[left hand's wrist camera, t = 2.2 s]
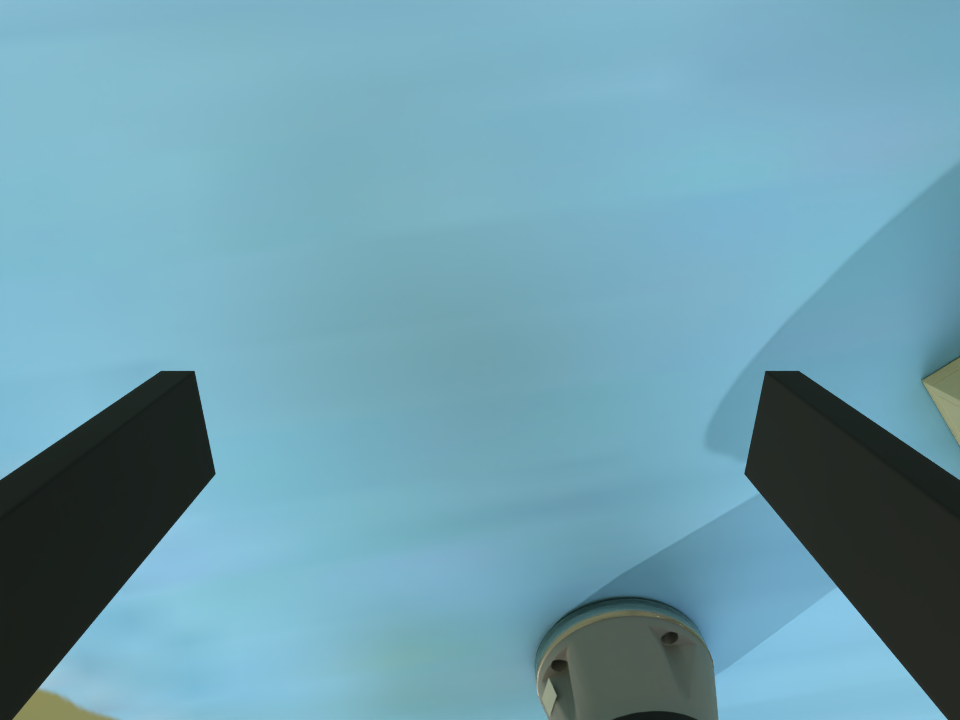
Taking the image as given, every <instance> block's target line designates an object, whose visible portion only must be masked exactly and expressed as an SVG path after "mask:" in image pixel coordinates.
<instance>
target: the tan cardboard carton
mask: <svg viewBox="0 0 960 720" xmlns="http://www.w3.org/2000/svg"><path fill="white" fill-rule="evenodd" d="M922 382H923V384H924V385H925V387H926V389H927V391H928V392H929V394H930V396H931V397H932V399H933V401H934V403H935V404H936V406H937V408H938V409H939V411H940V413H941V415H942V416H943V418H944V420H945V422H946V423H947V425H948V427H949V428H950V430H951V432H952V434H953V435H954V437H955V439H956V440H957V442H958V444H959V446H960V357H959V358H958V359H956V360H954V361H953V362H951V363H950V364H948V365H946V366H945V367H943V368H941V369H940V370H938V371H937V372H935V373H933V374H932V375H930V376H928V377H927V378H925V379H923V380H922Z"/></svg>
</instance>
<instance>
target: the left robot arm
mask: <svg viewBox="0 0 960 720" xmlns="http://www.w3.org/2000/svg"><path fill="white" fill-rule="evenodd" d="M214 475H215V469H214V464H213V459H212V454H211V449H210V444H209V439H208V435H207V430H206V425H205V420H204V415H203V410H202V405H201V400H200V396H199V391H198V386H197V381H196V376H195V371H160V372H159V373H158V374H156V375H155V376H153V377H152V378H150V379H149V380H147V381H146V382H144V383H143V384H141V385H140V386H138V387H137V388H135V389H134V390H132V391H131V392H130V393H128V394H127V395H125V396H124V397H122V398H121V399H119V400H118V401H116V402H115V403H113V404H112V405H110V406H109V407H107V408H106V409H104V410H103V411H102V412H100V413H99V414H97V415H96V416H94V417H93V418H91V419H90V420H88V421H87V422H85V423H84V424H82V425H81V426H79V427H78V428H76V429H75V430H74V431H72V432H71V433H69V434H68V435H66V436H65V437H63V438H62V439H60V440H59V441H57V442H56V443H54V444H53V445H51V446H50V447H48V448H47V449H46V450H44V451H43V452H41V453H40V454H38V455H37V456H35V457H34V458H32V459H31V460H29V461H28V462H26V463H25V464H23V465H22V466H21V467H19V468H18V469H16V470H15V471H13V472H12V473H10V474H9V475H7V476H6V477H4V478H3V479H1V480H0V720H12V719H13V718H14V717H15V716H16V714H17V713H18V712H19V711H20V710H21V708H22V707H23V706H24V705H25V703H26V702H27V701H28V700H29V699H30V698H31V696H32V695H33V694H34V693H35V691H36V690H37V689H38V688H39V687H40V685H41V684H42V683H43V682H44V681H45V679H46V678H47V677H48V676H49V675H50V673H51V672H52V671H53V670H54V669H55V667H56V666H57V665H58V664H59V662H60V661H61V660H62V659H63V658H64V656H65V655H66V654H67V653H68V652H69V650H70V649H71V648H72V647H73V646H74V644H75V643H76V642H77V641H78V640H79V638H80V637H81V636H82V635H83V634H84V632H85V631H86V630H87V629H88V627H89V626H90V625H91V624H92V623H93V621H94V620H95V619H96V618H97V617H98V615H99V614H100V613H101V612H102V611H103V609H104V608H105V607H106V606H107V605H108V603H109V602H110V601H111V600H112V598H113V597H114V596H115V595H116V594H117V592H118V591H119V590H120V589H121V588H122V586H123V585H124V584H125V583H126V582H127V580H128V579H129V578H130V577H131V576H132V574H133V573H134V572H135V571H136V569H137V568H138V567H139V566H140V565H141V563H142V562H143V561H144V560H145V559H146V557H147V556H148V555H149V554H150V553H151V551H152V550H153V549H154V548H155V547H156V545H157V544H158V543H159V542H160V541H161V539H162V538H163V537H164V536H165V534H166V533H167V532H168V531H169V530H170V528H171V527H172V526H173V525H174V524H175V522H176V521H177V520H178V519H179V518H180V516H181V515H182V514H183V513H184V512H185V510H186V509H187V508H188V507H189V505H190V504H191V503H192V502H193V501H194V499H195V498H196V497H197V496H198V495H199V493H200V492H201V491H202V490H203V489H204V487H205V486H206V485H207V484H208V483H209V481H210V480H211V479H212V478H213V476H214ZM745 475H746V476H747V478H748V479H749V480H750V481H751V483H752V484H753V485H754V486H755V487H756V489H757V490H758V491H759V492H760V493H761V495H762V496H763V497H764V498H765V499H766V501H767V502H768V503H769V504H770V505H771V507H772V508H773V509H774V510H775V512H776V513H777V514H778V515H779V516H780V518H781V519H782V520H783V521H784V522H785V524H786V525H787V526H788V527H789V528H790V530H791V531H792V532H793V533H794V534H795V536H796V537H797V538H798V539H799V541H800V542H801V543H802V544H803V545H804V547H805V548H806V549H807V550H808V551H809V553H810V554H811V555H812V556H813V557H814V559H815V560H816V561H817V562H818V563H819V565H820V566H821V567H822V568H823V569H824V571H825V572H826V573H827V574H828V576H829V577H830V578H831V579H832V580H833V582H834V583H835V584H836V585H837V586H838V588H839V589H840V590H841V591H842V592H843V594H844V595H845V596H846V597H847V598H848V600H849V601H850V602H851V603H852V605H853V606H854V607H855V608H856V609H857V611H858V612H859V613H860V614H861V615H862V617H863V618H864V619H865V620H866V621H867V623H868V624H869V625H870V626H871V627H872V629H873V630H874V631H875V632H876V634H877V635H878V636H879V637H880V638H881V640H882V641H883V642H884V643H885V644H886V646H887V647H888V648H889V649H890V650H891V652H892V653H893V654H894V655H895V656H896V658H897V659H898V660H899V661H900V662H901V664H902V665H903V666H904V667H905V669H906V670H907V671H908V672H909V673H910V675H911V676H912V677H913V678H914V679H915V681H916V682H917V683H918V684H919V685H920V687H921V688H922V689H923V690H924V691H925V693H926V694H927V695H928V696H929V698H930V699H931V700H932V701H933V702H934V704H935V705H936V706H937V707H938V708H939V710H940V711H941V712H942V713H943V714H944V716H945V717H946V718H947V719H948V720H960V480H959V479H957V478H956V477H954V476H953V475H951V474H950V473H948V472H947V471H945V470H944V469H942V468H941V467H939V466H938V465H937V464H935V463H934V462H932V461H931V460H929V459H928V458H926V457H925V456H923V455H922V454H920V453H919V452H917V451H916V450H914V449H913V448H911V447H910V446H909V445H907V444H906V443H904V442H903V441H901V440H900V439H898V438H897V437H895V436H894V435H892V434H891V433H889V432H888V431H886V430H885V429H884V428H882V427H881V426H879V425H878V424H876V423H875V422H873V421H872V420H870V419H869V418H867V417H866V416H864V415H863V414H861V413H860V412H858V411H857V410H856V409H854V408H853V407H851V406H850V405H848V404H847V403H845V402H844V401H842V400H841V399H839V398H838V397H836V396H835V395H833V394H832V393H830V392H829V391H828V390H826V389H825V388H823V387H822V386H820V385H819V384H817V383H816V382H814V381H813V380H811V379H810V378H808V377H807V376H805V375H804V374H802V373H801V372H800V371H765V376H764V381H763V386H762V391H761V396H760V400H759V405H758V410H757V415H756V420H755V425H754V430H753V435H752V439H751V444H750V449H749V454H748V459H747V464H746V469H745ZM535 675H536V684H537V692H538V696H539V699H540V702H541V704H542V706H543V708H544V711H545V713H546V715H547V717H548V719H549V720H718V710H717V699H716V688H715V677H714V666H713V661H712V658H711V655H710V653H709V650H708V648H707V646H706V644H705V642H704V639H703V637H702V635H701V633H700V631H699V630H698V628H697V627H696V626H695V625H694V623H693V622H692V621H691V620H690V619H688V618H687V617H686V616H685V615H683V614H682V613H681V612H679V611H677V610H675V609H674V608H671V607H669V606H667V605H664V604H661V603H658V602H654V601H649V600H643V599H614V600H607V601H603V602H598V603H595V604H592V605H589V606H586V607H583V608H581V609H579V610H577V611H575V612H573V613H571V614H570V615H568V616H566V617H565V618H563V619H562V620H561V621H559V622H558V623H557V624H556V625H555V626H554V627H553V628H552V629H551V630H550V631H549V632H548V633H547V635H546V636H545V637H544V639H543V641H542V642H541V644H540V646H539V648H538V651H537V654H536V659H535Z"/></svg>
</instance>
